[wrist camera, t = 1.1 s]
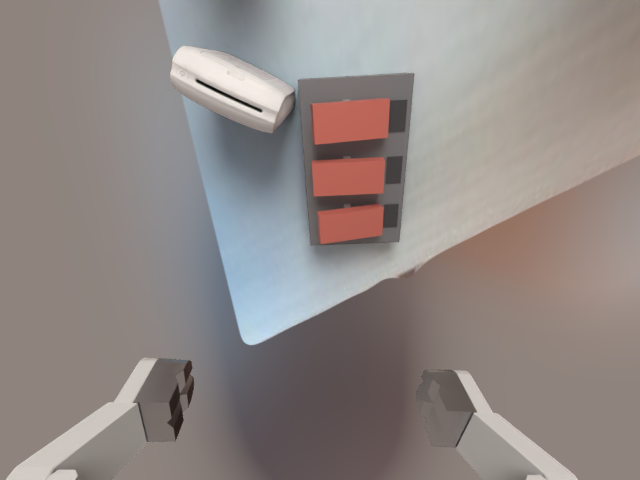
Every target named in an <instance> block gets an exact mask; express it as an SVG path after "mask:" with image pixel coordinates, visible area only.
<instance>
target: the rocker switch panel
mask: <svg viewBox="0 0 640 480" xmlns="http://www.w3.org/2000/svg"><path fill="white" fill-rule="evenodd" d="M413 82H414V73H396V74H379V75H362V76H345V77H327V78H310V79H300V80H298V87H299V100H300V113H301V126H302V139H303V152H304V165H305V178H306V191H307V204H308V217H309V230H310V243H311V245H335V244H360V243H386V242H399V238H400V227H401V216H402V205H403V194H404V183H405V171H406V160H407V149H408V138H409V127H410V116H411V105H412V93H413ZM377 98H388V99H390V109H389V126H388V138H379V139H369V140H359V141H348V142H338V143H328V144H317V145H315V144H314V143H313V141H312V125H311V109H310V104H311V103H325V102H338V101H351V100H364V99H377ZM374 157H383V158H384V159H385V171H384V189H383V193H380V194H358V195H335V196H314V191H313V176H312V161H313V160H333V159H354V158H374ZM372 204H381V205H382V206H383V207H384V213H383V231H382V235H381V236H374V237H367V238H360V239H354V240H347V241H340V242H333V243H326V244H320V241H319V238H318V222H317V212H318V211H326V210H334V209H341V208H349V207H357V206H364V205H372Z"/></svg>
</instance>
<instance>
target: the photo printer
mask: <svg viewBox="0 0 640 480" xmlns="http://www.w3.org/2000/svg"><path fill="white" fill-rule="evenodd" d="M170 79H171V83H172V85H173V87H174V88H175V89H177V90H178V91H179V92H180V93H181V94H183V95H184V96H186V97H187V98H189V99H191V100H192V101H194V102H196V103H198V104H200V105H201V106H203V107H205V108H207V109H209V110H211V111H213V112H215V113H217V114H220V115H222V116H224V117H226V118H228V119H231V120H233V121H235V122H238V123H240V124H242V125H245V126H248V127H250V128H253V129H256V130H259V131H262V132H267V133H273V132H274V131H275V130H276V129H277V128H278V127H279V125H280V124H281V123H282V122H283V121H284V119H285V118H286V117H287V116H288V115H289V114H290V113H291V111H292V110H293V108H294V106H295V95H294V92H295V90H294V89H293V88H292V87H291V86H289V85H288V84H287V83H285V82H283V81H282V80H280V79H278V78H276V77H274V76H272V75H271V74H269V73H267V72H265V71H263V70H261V69H259V68H257V67H255V66H253V65H251V64H249V63H247V62H245V61H243V60H241V59H239V58H237V57H234V56H232V55H230V54H227V53H224V52H221V51H216V50H209V49H203V48H197V47H191V46H182V47H181V48H180V49H179V50H178V51H177V52H176V54H175V56H174V57H173V60H172V70H171V73H170Z"/></svg>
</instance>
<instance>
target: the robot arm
mask: <svg viewBox="0 0 640 480" xmlns="http://www.w3.org/2000/svg"><path fill="white" fill-rule="evenodd" d="M191 370H192V362H191V361H190V360H176V359H161V358H143V359H142V360H141V361H139V363H138V364H137V366H136V368H135V369H134V371H133V372H132V374H131V375H130V377H129V379H128V380H127V382H126V384H125V385H124V387H123V388H122V390H121V391H120V393H119V395H118V396H117V398H116V399H115V401H114V402H109V403H107V404H105V405H104V406H103V407H101V408H100V409H98V410H97V411H95V412H94V413H93V414H91V415H90V416H88V417H87V418H85V419H84V420H83V421H81V422H80V423H78V424H77V425H75V426H74V427H72V428H71V429H70V430H68V431H67V432H65V433H64V434H63V435H61V436H60V437H58V438H57V439H55V440H54V441H53V442H51V443H49V444H48V445H47V446H45V447H44V448H42V449H41V450H39V451H38V452H37V453H35V454H34V455H32V456H31V457H29V458H28V459H27V460H25V461H24V462H22V463H21V464H20V465H18V466H17V467H15V469H14V470H13V471H12V472H11V474H10V475H9V476H8V477H7V479H6V480H112V479H113V478H114V477H115V476H116V475H117V474H118V473H119V472H120V471H121V470H122V469H123V468H124V466H126V465H127V464H128V462H129V461H130V460H131V459H132V458H133V457H134V456H135V455H136V454H137V453H138V452H139V451H140V450H141V449H142V448H143V447H144V446H145V445H146V444H147V442H156V441H157V442H163V441H164V442H166V441H176V439H177V436H178V434H179V431H180V429H181V426H182V423H183V421H184V420H183V412H184V411H185V410H186V409H187V408H188V407H189V404H190V402H191V398H192V394H193V390H194V378H193V376H191V374H190V373H191ZM421 377H422V380H423V382H422V383H421V384H419V385H418V388H417V391H416V401H417V406H418V409H419V412H420V414H421V415H422V416H423V417H424V418H425V419H426V424H425V429H426V432H427V435H428V438H429V440H430V443H431V446H435V447H455V448H456V450H457V451H458V452H459V453H460V454H461V455H462V457H463V458H464V459H465V460H466V461H467V462H468V463H469V464H470V466H471V467H472V468H473V469H474V470H475V471H476V472H477V474H478V475H479V476H480V477H481V478H482V480H578V479H577V478H576V477H575V475H574V474H573V473H572V472H570V471H569V470H568V469H567V468H565V467H564V466H562V465H561V464H560V463H559V462H558V461H556V460H555V459H554V458H553V457H551V456H550V455H549V454H548V453H546V452H545V451H544V450H543V449H541V448H540V447H539V446H537V445H536V444H535V443H534V442H533V441H531V440H530V439H529V438H528V437H526V436H525V435H524V434H523V433H521V432H520V431H519V430H518V429H516V428H515V427H514V426H512V425H511V424H510V423H509V422H508V421H506V420H505V419H504V418H502V417H501V416H500V415H499V414H498V413H493V412H492V410H491V409H490V407H489V405H488V403H487V402H486V400H485V398H484V397H483V395H482V393H481V392H480V390H479V388H478V387H477V385H476V383H475V381H474V380H473V378H472V376H471V375H470V373H469V372H467V371H458V370H430V369H427V370H424V371H423V374H422V376H421Z"/></svg>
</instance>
